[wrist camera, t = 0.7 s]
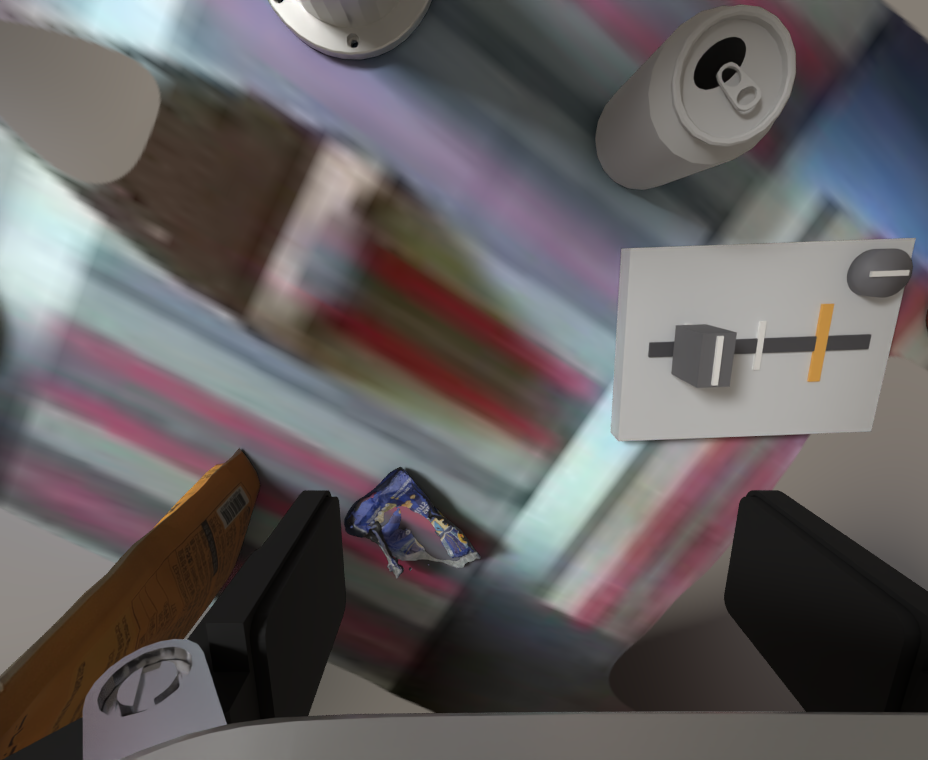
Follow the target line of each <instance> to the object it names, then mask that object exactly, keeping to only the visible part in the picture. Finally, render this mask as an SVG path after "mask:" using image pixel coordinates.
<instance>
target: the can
mask: <svg viewBox="0 0 928 760" xmlns="http://www.w3.org/2000/svg"><path fill="white" fill-rule="evenodd" d="M795 76H796V52H795V49H794V46H793V42H792V39H791V36H790V33H789V31H788V30H787V29H786V27H785V26H784V25H783V24H782V22H781V21H780V20H779V19H778V17H777V16H775V15H773V14H772V13H770V12H768V11H766V10H765V9H763V8H761V7H757V6H749V5H737V6H733V7H732V6H721V7H717V8H713V9H709V10H705V11H702V12H700V13H698V14H697V15H695V16H694V17H692V18H691V19H689V20H688V21H686V22H685V23H683V24H681V25H680V26H679V27H678V28H677V29H676V30H675V31H674V33H673V34H672V35H671V36H670V37H669V38H668V39H667V40H666V41H665V42H664V43H663V44H662V45H661V46H660V47H659V48H658V49H657V50H656V51H655V52H654V53H653V54H652V55H651V57H650V58H649V59H648V60H647V61H646V62H645V63H644V64H643V65H642V66H641V67H640V68H639V69H638V70H637V71H636V72H635V73H634V74H633V75H632V76H631V77H630V78H629V80H628V81H627V82H626V83H625V84H624V85H623V86H622V87H621V88H620V89H619V90H618V91H617V92H616V93H615V94H614V96H613V97H612V98H611V99H610V100H609V102H608V103H607V104H606V105H605V107H604V109H603V112H602V114H601V116H600V118H599V120H598V124H597V131H596V137H595V142H596V149H597V156H598V158H599V161H600V163H601V165H602V167H603V169H604V171H605V172H606V173H607V174H608V175H609V176H610V177H611V178H612V179H613V180H614V182H616V183H618V184H620V185H622V186H624V187H626V188H628V189H638V190H646V189H650V188H654V187H658V186H661V185H664V184H667V183H670V182H672V181H675V180H678V179H681V178H684V177H686V176H689V175H692V174H695V173H698V172H700V171H703V170H706V169H709V168H712V167H714V166H717V165H720V164H723V163H726V162H728V161H731V160H734V159H735V158H737V157H739V156H740V155H742V154H744V153H745V152H747V151H749V150H750V149H752V148H753V147H754V146H755V145H756V144H757V143H758V142H759V141H760V140H761V139H762V138H763V137H764V136H765V135H766V134H767V132H768V131H769V130H770V129H771V127H772V125H773V123H774V121H775V120H776V119H777V118H778V117H779V115H780V114H781V112H782V110H783V108H784V106H785V105H786V103H787V101H788V99H789V97H790V95H791V91H792V88H793V84H794V80H795Z"/></svg>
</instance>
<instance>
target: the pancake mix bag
mask: <svg viewBox="0 0 928 760" xmlns="http://www.w3.org/2000/svg"><path fill="white" fill-rule="evenodd" d="M260 486H261V485H260V482H259V479H258V475H257V472H256V471H255V469H254V467H253V466H252V464H251V463H250V461H249V460H248V458H247V457H246V456H245V455H244V453H243V452H242V451H241V450H240V448H239V449H238V450H237V451H236V452H235V454H234V455H233V456H232V457H231V458H230V459H229V460H228V461H227V462H226V463H222V464H217V465H215V466H214V467H213V468H212V469H210V470H209V471H208V472H207V473H206V474H205V475H204V476H203V477H202V478H201V479H200V480H199V481H198V482H197V483H196V484H195V485H194V486H193V487H192V488H191V489H190V490H189V491H188V492H187V493H186V494H185V495H184V496H183V497H182V498H181V499H180V500H179V501H178V502H177V503H176V504H175V505H174V507H173V508H172V509H171V510H170V511H169V512H168V513H167V514H166V515H165V516H164V517H163V518H162V519H161V521H160V522H159V523H158V524H157V525H156V526H155V527H154V528H153V529H152V530H151V531H150V532H149V533H147V534H146V535H145V536H144V537H142V538H141V539H140V540H138V541H137V542H136V543H134V544H133V545H132V546H131V548H130V549H129V550H128V551H127V552H126V553H125V554H124V555H123V556H122V557H121V558H120V559H119V560H118V562H117V563H116V564H115V565H114V566H113V567H112V568H111V570H110V571H109V572H108V573H107V574H106V575H105V576H104V577H103V578H102V579H100V580H99V581H98V582H97V583H96V584H95V585H93V586H92V587H91V588H90V589H89V590H88V591H86V592H85V593H84V594H83V595H82V596H81V597H80V598H79V599H78V600H77V602H76V603H75V604H74V605H73V606H72V607H71V608H70V609H69V610H68V611H67V612H66V613H65V614H64V615H63V616H62V617H61V618H60V619H59V620H58V621H57V622H56V623H55V624H54V625H53V626H52V627H51V628H50V629H49V630H48V631H47V632H46V633H45V634H44V635H43V636H42V637H41V638H40V639H39V640H38V641H37V642H36V643H35V644H33V645H32V646H31V647H30V648H29V649H28V650H27V651H26V652H25V653H24V654H23V655H22V656H20V657H19V658H18V659H17V660H16V661H15V662H14V663H13V664H12V665H11V666H10V667H9V668H8V669H7V670H6V671H5V672H4V673H3V674H2V675H1V676H0V760H2V759H4V758H6V757H8V756H10V755H12V754H14V753H16V752H17V751H19V750H21V749H23V748H25V747H27V746H29V745H31V744H32V743H34V742H36V741H38V740H40V739H42V738H44V737H46V736H47V735H49V734H51V733H53V732H55V731H57V730H59V729H61V728H62V727H64V726H66V725H68V724H70V723H72V722H74V721H76V720H77V719H79V718H81V717H83V706H84V702H85V698H86V695H87V694H88V692H89V691H90V689H91V688H92V686H93V684H94V683H95V682H96V681H97V680H98V679H99V678H100V677H101V676H102V675H103V674H104V673H105V672H106V671H107V670H108V668H110V667H111V666H113V665H114V664H115V663H117V662H118V661H120V660H121V659H122V658H124V657H125V656H127V655H129V654H131V653H133V652H135V651H137V650H138V649H140V648H142V647H145V646H148V645H151V644H154V643H157V642H160V641H166V640H172V639H184V638H185V636H186V635H187V634H188V633H189V631H190V630H191V629H192V627H193V626H194V625H195V623H196V622H197V621H198V619H199V618H200V617H201V616H202V614H203V613H204V611H205V610H206V609H207V607H208V606H209V605H210V603H211V602H212V600H213V599H214V597H215V596H216V594H217V593H218V591H219V590H220V589H221V587H222V586H223V585H224V583H225V582H226V581H227V579H228V578H229V576H230V574H231V572H232V570H233V568H234V566H235V564H236V561H237V559H238V556H239V553H240V550H241V547H242V544H243V541H244V537H245V534H246V531H247V528H248V524H249V521H250V518H251V514H252V511H253V508H254V505H255V502H256V498H257V495H258V492H259V489H260Z"/></svg>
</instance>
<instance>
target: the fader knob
mask: <svg viewBox="0 0 928 760" xmlns="http://www.w3.org/2000/svg"><path fill="white" fill-rule="evenodd" d="M736 336H737V332H734V331H730V330H726V329H722V328H719V327H715V326H711V325H707V324H697V325H676V329H675V339H674V350H673V360H672V371H671V374H672V375H674V376H676V377H678V378H679V379H681V380H683V381H685V382H687V383H689V384H691V385H692V386H694V387H696V388H709V387H730V381H731V373H732V366H733V358H734V351H735V343H736Z"/></svg>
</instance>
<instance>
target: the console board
mask: <svg viewBox="0 0 928 760" xmlns="http://www.w3.org/2000/svg"><path fill="white" fill-rule="evenodd" d="M915 239H916V238H901V239H873V240H845V241H818V242H790V243H762V244H734V245H706V246H679V247H651V248H626V249H621V263H620V280H619V297H618V314H617V331H616V348H615V365H614V382H613V399H612V416H611V433H612V435H613V436H614V437H615V438H616V439H617V440H618V441H637V440H663V439H689V438H715V437H741V436H767V435H794V434H819V433H845V432H870V431H871V430H872V426H873V422H874V417H875V413H876V408H877V404H878V400H879V395H880V391H881V387H882V382H883V378H884V373H885V369H886V365H887V360H888V356H889V352H890V348H891V343H892V339H893V335H894V330H895V326H896V322H897V317H898V313H899V309H900V304H901V300H902V295H903V291H904V287H905V285H906V284H907V283H908V281H909V279H910V277H911V274H912V269H913V265H912V260H911V256H912V252H913V248H914V243H915ZM697 324H707V325H711V326H715V327H719V328H722V329H726V330H730V331H734V332H737V336H736V343H735V351H734V358H733V366H732V373H731V381H730V387H709V388H696V387H694V386H692V385H691V384H689V383H687V382H685V381H683V380H681V379H679V378H678V377H676V376H674V375H672V374H671V371H672V360H673V350H674V339H675V329H676V325H697Z"/></svg>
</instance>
